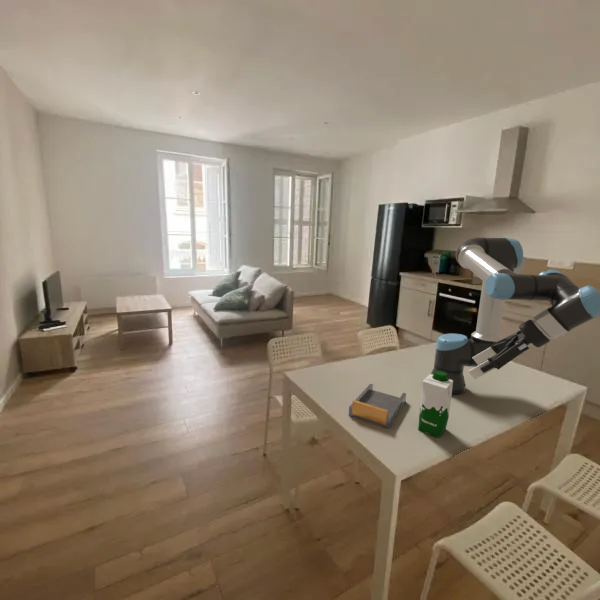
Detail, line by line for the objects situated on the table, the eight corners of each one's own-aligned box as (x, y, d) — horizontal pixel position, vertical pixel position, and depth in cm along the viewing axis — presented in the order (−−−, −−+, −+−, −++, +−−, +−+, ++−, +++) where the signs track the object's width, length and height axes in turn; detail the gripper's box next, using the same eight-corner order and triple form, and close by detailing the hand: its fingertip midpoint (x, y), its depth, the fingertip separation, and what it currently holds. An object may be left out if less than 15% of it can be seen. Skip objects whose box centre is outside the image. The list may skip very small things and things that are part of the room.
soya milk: (449, 428, 111) (456, 374, 106) (441, 440, 104) (448, 383, 100) (423, 418, 116) (429, 367, 112) (414, 429, 109) (420, 375, 105)
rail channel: (369, 391, 135) (370, 378, 134) (405, 401, 128) (406, 387, 127) (348, 415, 117) (349, 400, 116) (389, 428, 109) (390, 413, 108)
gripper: (557, 352, 78) (479, 393, 88) (546, 330, 99) (484, 365, 109) (534, 328, 80) (460, 370, 90) (528, 310, 100) (468, 347, 111)
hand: (473, 367), depth 100 cm, fingers open, 13 cm apart
